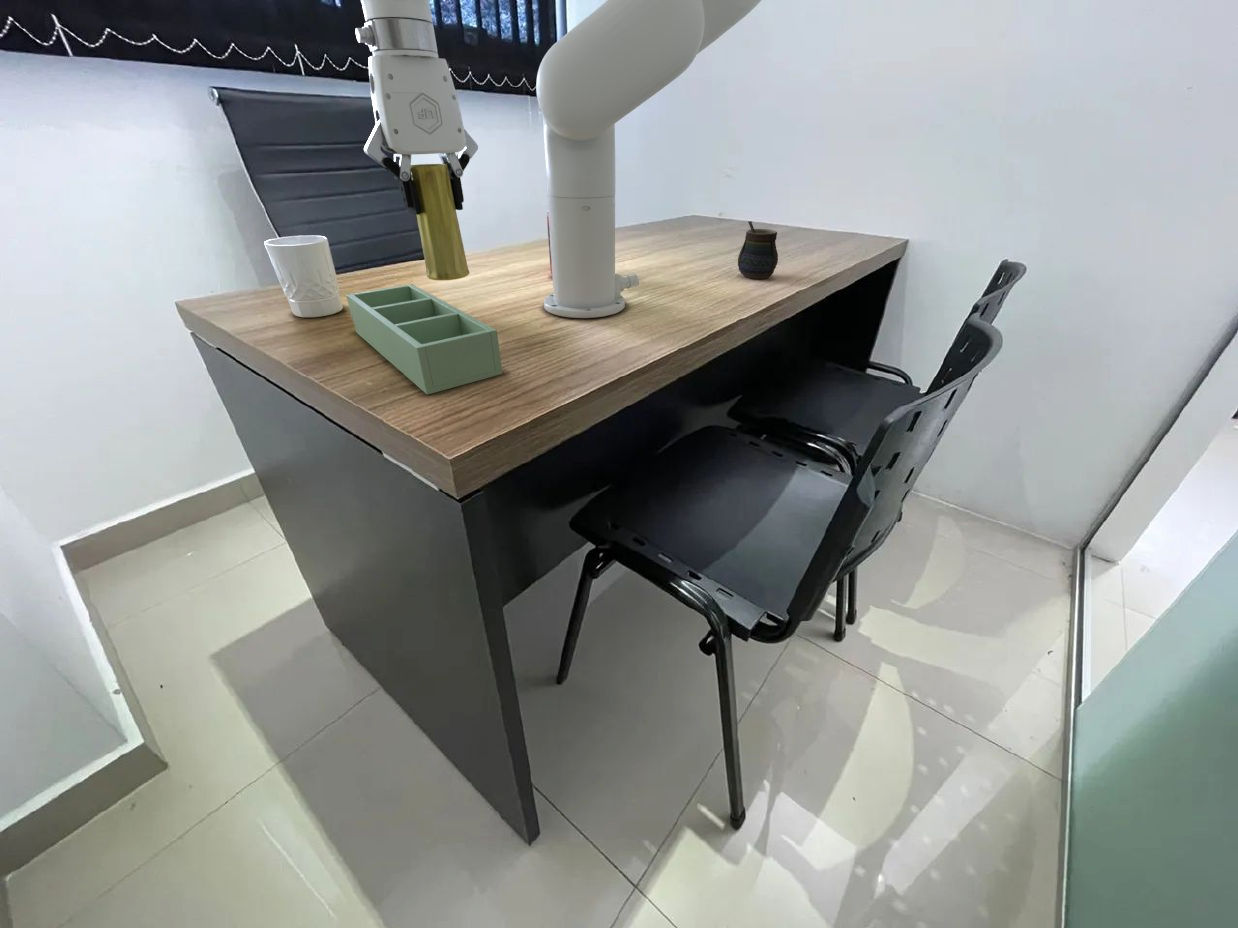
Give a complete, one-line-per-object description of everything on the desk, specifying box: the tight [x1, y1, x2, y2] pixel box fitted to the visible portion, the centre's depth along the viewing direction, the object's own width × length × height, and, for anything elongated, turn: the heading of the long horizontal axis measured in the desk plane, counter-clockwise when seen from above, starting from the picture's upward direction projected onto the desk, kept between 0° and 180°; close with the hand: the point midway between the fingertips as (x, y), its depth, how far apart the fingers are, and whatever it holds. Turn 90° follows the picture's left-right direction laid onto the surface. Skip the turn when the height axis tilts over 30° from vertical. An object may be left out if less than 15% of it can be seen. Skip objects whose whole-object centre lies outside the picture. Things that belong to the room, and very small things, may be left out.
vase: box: [410, 163, 470, 281], centre depth 72 cm, size 6×6×14 cm
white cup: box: [263, 235, 344, 319], centre depth 75 cm, size 8×8×10 cm
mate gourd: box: [737, 220, 779, 280], centre depth 94 cm, size 7×8×10 cm
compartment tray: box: [345, 283, 503, 396], centre depth 62 cm, size 9×25×5 cm, turn 39°
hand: (435, 209), depth 71 cm, fingers closed on vase, 5 cm apart
